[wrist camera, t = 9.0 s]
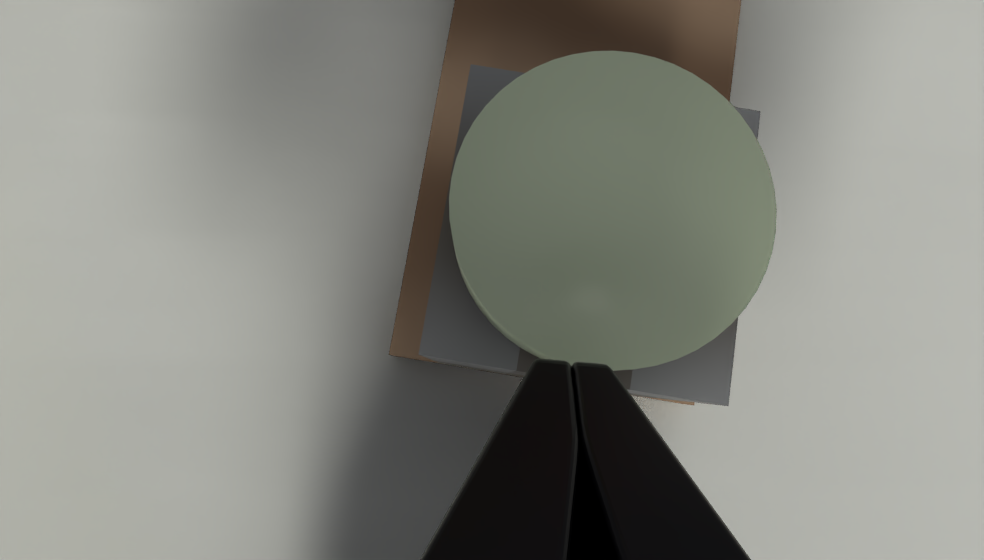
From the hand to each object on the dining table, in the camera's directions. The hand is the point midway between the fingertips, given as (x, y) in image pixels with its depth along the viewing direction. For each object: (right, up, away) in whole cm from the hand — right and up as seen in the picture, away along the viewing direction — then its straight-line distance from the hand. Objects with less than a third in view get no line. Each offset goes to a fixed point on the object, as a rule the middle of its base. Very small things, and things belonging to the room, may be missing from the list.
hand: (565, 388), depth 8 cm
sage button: (+1, +2, +9) cm, 9 cm away
